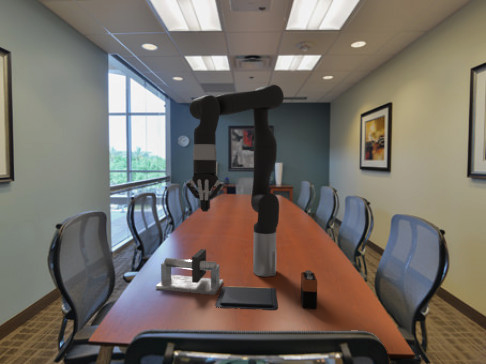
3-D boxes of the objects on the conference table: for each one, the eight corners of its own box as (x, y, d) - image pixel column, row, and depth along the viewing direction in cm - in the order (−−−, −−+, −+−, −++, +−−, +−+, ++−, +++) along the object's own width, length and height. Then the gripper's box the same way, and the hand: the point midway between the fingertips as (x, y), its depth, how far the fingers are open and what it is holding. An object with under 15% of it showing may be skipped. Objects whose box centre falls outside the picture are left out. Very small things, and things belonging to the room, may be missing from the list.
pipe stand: (223, 282, 104) (223, 257, 103) (215, 295, 94) (215, 267, 93) (169, 277, 108) (168, 252, 107) (155, 288, 98) (155, 261, 98)
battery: (313, 298, 92) (314, 269, 91) (317, 309, 85) (317, 278, 84) (300, 298, 92) (301, 269, 92) (302, 308, 86) (303, 277, 85)
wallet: (213, 303, 86) (222, 282, 101) (213, 309, 86) (222, 287, 101) (278, 307, 84) (277, 285, 99) (278, 313, 84) (277, 290, 99)
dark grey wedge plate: (206, 272, 104) (206, 249, 104) (197, 282, 96) (197, 257, 95) (201, 272, 105) (201, 249, 104) (192, 282, 96) (191, 257, 95)
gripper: (227, 159, 93) (227, 210, 94) (190, 158, 95) (190, 208, 97) (221, 158, 85) (221, 214, 87) (181, 158, 88) (181, 212, 89)
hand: (205, 211), depth 92 cm, fingers closed
